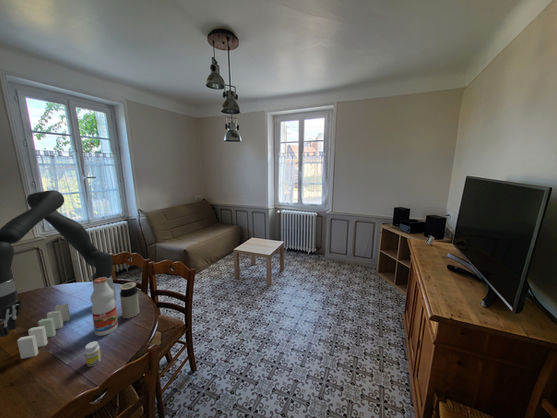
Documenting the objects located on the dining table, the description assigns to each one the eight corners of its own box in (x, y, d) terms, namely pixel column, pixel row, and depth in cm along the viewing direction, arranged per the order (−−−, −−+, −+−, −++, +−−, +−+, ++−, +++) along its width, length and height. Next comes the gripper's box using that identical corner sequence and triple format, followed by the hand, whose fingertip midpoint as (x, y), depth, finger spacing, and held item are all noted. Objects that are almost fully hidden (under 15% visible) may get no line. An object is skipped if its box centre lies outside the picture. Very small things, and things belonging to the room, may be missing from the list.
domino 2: (34, 345, 100) (31, 327, 98) (47, 342, 101) (44, 325, 100) (31, 348, 98) (28, 330, 97) (45, 345, 100) (41, 328, 98)
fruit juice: (120, 321, 117) (114, 273, 112) (115, 333, 108) (109, 281, 104) (98, 326, 113) (91, 276, 108) (92, 338, 104) (84, 285, 100)
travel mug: (126, 321, 117) (123, 290, 114) (120, 315, 121) (116, 286, 118) (142, 313, 124) (139, 284, 121) (135, 308, 128) (132, 280, 125)
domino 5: (59, 320, 117) (56, 305, 115) (70, 318, 118) (67, 303, 117) (57, 322, 115) (54, 307, 113) (68, 320, 116) (65, 305, 115)
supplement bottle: (92, 357, 94) (90, 340, 93) (104, 356, 94) (101, 340, 93) (83, 367, 89) (81, 349, 88) (95, 366, 90) (93, 348, 88)
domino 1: (24, 355, 94) (20, 337, 93) (38, 352, 96) (35, 334, 94) (21, 358, 93) (17, 340, 91) (35, 356, 94) (31, 337, 93)
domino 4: (51, 327, 111) (49, 311, 110) (63, 325, 113) (61, 310, 111) (49, 330, 109) (46, 314, 108) (61, 328, 111) (58, 312, 109)
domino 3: (53, 336, 105) (50, 319, 104) (41, 338, 104) (37, 321, 102) (56, 333, 107) (53, 317, 105) (43, 335, 105) (40, 319, 104)
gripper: (-4, 301, 77) (6, 343, 79) (27, 282, 90) (34, 319, 93) (-33, 304, 74) (-22, 348, 77) (3, 284, 87) (11, 322, 90)
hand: (8, 332), depth 85 cm, fingers open, 3 cm apart
